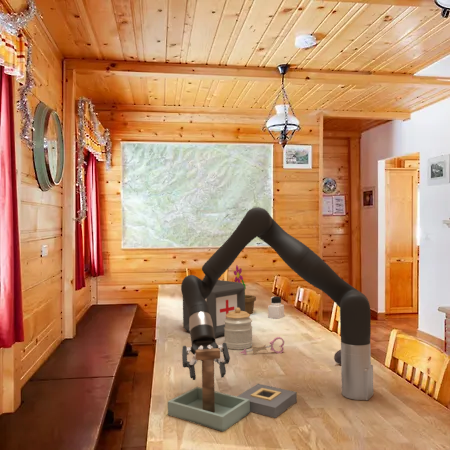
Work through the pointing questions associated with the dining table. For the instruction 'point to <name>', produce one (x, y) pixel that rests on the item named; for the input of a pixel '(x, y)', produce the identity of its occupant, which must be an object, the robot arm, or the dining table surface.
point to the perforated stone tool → (337, 357)
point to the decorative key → (256, 349)
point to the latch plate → (269, 399)
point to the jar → (238, 330)
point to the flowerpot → (248, 298)
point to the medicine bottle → (276, 308)
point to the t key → (208, 376)
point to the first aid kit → (220, 304)
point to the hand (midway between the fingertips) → (208, 377)
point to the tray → (219, 420)
